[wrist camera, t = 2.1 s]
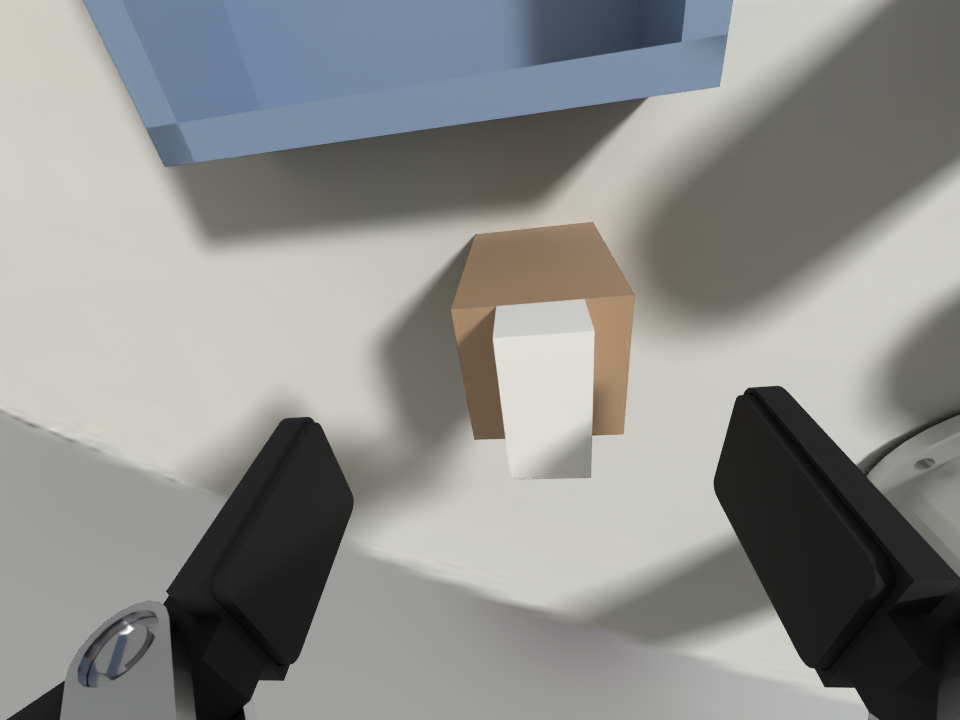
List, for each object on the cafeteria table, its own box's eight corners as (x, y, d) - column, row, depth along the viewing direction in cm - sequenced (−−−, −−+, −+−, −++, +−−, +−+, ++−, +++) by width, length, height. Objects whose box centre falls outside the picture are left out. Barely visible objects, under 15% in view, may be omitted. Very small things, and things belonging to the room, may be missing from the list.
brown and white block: (590, 326, 20) (636, 476, 12) (488, 334, 20) (469, 480, 13) (592, 222, 17) (652, 326, 9) (475, 234, 18) (440, 341, 10)
